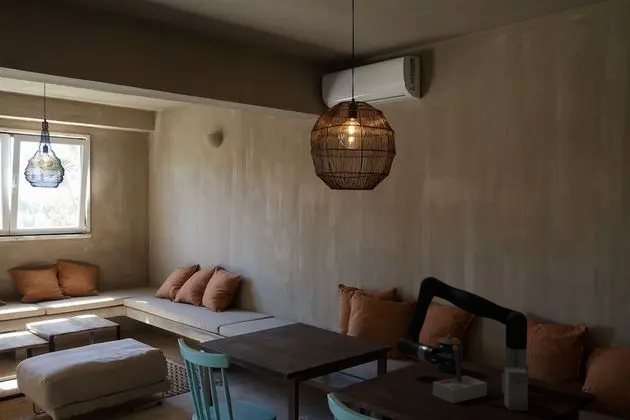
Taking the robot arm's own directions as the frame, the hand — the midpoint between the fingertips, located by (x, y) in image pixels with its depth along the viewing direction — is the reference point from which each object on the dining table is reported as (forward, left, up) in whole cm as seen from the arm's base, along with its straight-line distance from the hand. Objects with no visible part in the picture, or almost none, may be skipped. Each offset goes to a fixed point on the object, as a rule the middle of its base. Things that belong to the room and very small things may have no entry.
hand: (456, 362), depth 249 cm
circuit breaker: (-19, +15, -14) cm, 28 cm away
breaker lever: (-1, +2, -8) cm, 8 cm away
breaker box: (-1, +2, -14) cm, 14 cm away
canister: (-12, -36, -14) cm, 40 cm away
